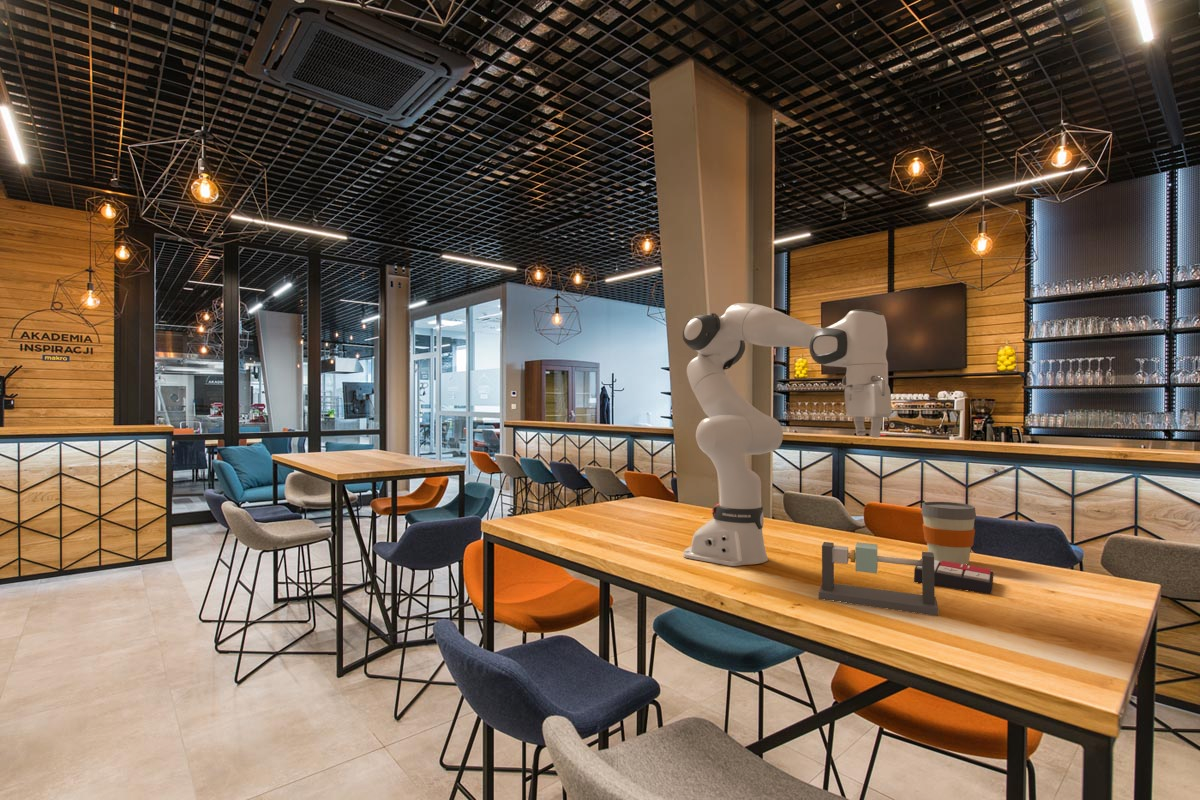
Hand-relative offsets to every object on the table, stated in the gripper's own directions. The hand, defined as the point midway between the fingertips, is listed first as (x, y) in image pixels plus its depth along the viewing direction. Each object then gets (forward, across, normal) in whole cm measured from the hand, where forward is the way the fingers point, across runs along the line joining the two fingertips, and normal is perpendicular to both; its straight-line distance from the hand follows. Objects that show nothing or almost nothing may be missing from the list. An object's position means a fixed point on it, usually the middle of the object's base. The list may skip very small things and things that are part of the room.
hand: (867, 436), depth 134 cm
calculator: (+35, +2, -20) cm, 40 cm away
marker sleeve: (+28, -13, +5) cm, 31 cm away
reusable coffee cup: (+34, +22, -28) cm, 49 cm away
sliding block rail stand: (+34, -14, +3) cm, 37 cm away
